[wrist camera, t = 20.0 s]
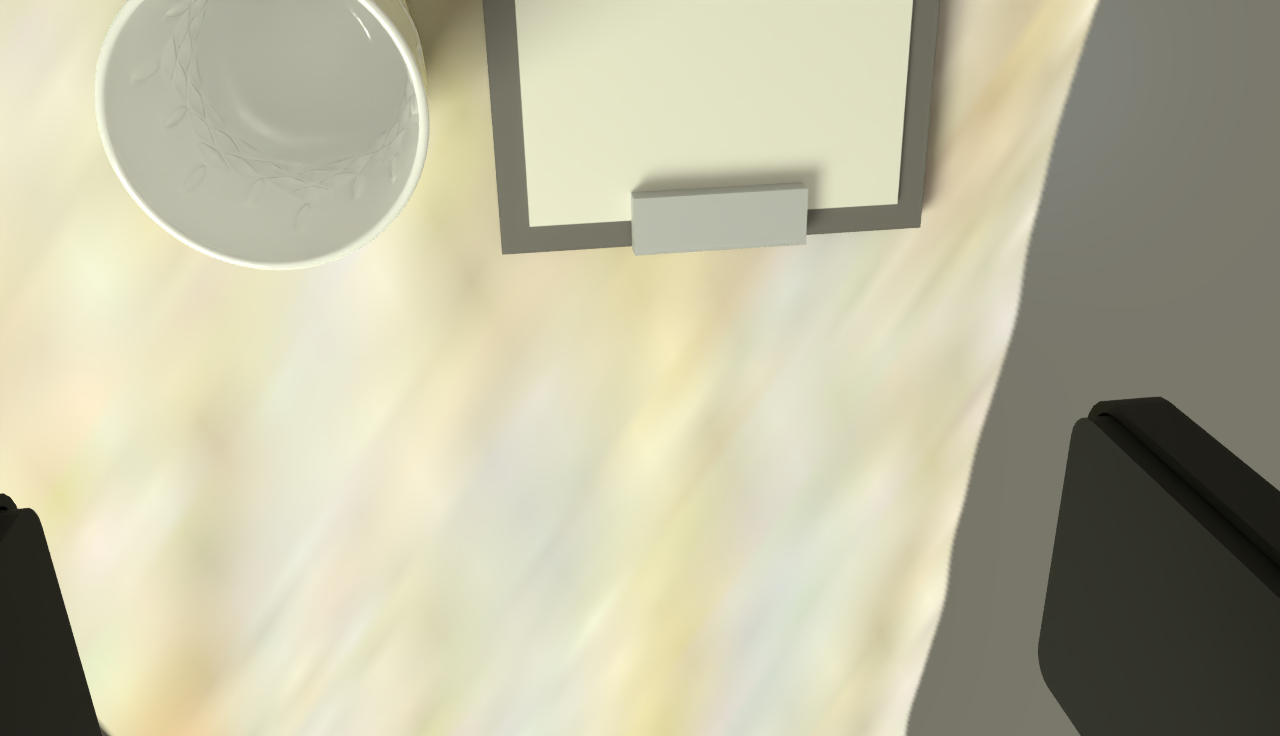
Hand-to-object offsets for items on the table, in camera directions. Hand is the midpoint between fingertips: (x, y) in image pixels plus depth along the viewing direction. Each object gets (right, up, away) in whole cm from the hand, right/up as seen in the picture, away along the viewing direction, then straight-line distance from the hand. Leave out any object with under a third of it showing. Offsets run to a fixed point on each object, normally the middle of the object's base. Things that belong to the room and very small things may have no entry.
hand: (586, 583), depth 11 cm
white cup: (-10, +12, +27) cm, 31 cm away
